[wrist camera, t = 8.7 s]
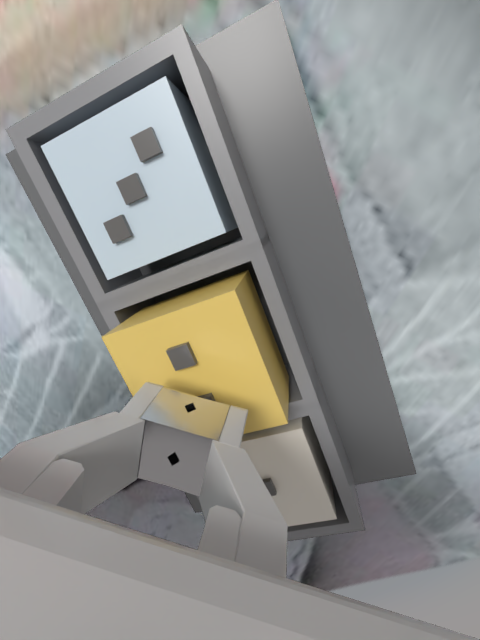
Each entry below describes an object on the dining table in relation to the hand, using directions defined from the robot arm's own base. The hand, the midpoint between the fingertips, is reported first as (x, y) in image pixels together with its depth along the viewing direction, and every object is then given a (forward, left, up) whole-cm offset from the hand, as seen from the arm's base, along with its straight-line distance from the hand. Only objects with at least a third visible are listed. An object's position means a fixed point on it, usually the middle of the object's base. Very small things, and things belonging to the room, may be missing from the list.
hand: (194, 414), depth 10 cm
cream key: (0, -5, -6) cm, 8 cm away
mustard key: (0, +1, -4) cm, 4 cm away
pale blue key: (0, +7, -6) cm, 9 cm away
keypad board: (0, +1, -7) cm, 7 cm away
